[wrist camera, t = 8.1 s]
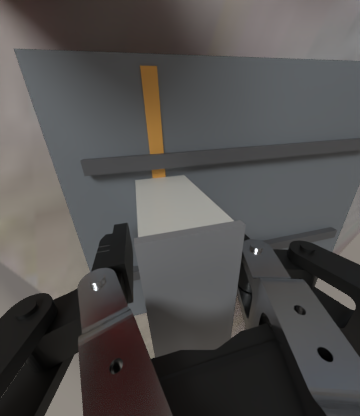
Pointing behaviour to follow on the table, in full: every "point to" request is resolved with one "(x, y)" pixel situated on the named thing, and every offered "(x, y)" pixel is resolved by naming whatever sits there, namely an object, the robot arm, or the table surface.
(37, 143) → the table surface
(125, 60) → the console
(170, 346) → the tall grey rectangular block
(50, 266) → the table surface
